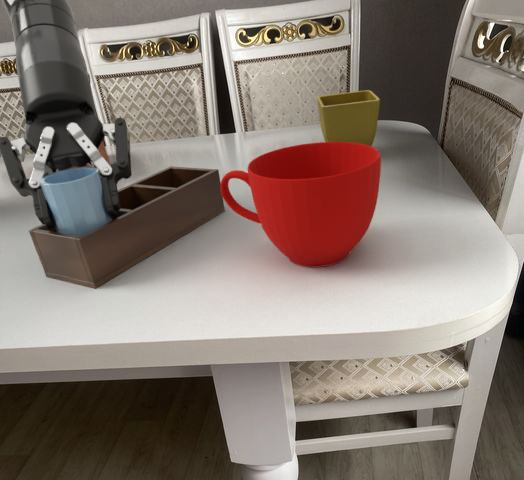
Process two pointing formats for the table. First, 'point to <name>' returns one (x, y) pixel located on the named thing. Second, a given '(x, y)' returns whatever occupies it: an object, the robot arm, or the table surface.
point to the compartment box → (133, 226)
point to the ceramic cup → (312, 198)
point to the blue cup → (75, 200)
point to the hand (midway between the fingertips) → (80, 218)
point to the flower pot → (349, 117)
